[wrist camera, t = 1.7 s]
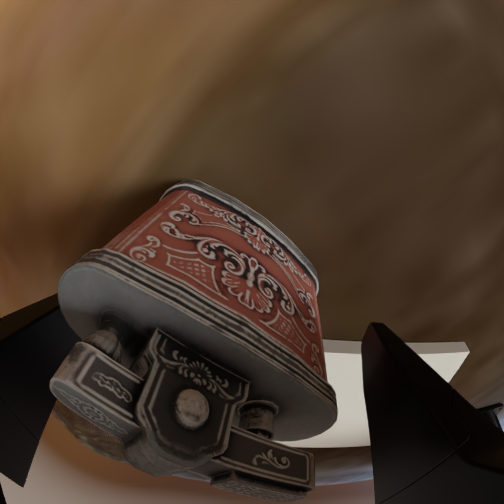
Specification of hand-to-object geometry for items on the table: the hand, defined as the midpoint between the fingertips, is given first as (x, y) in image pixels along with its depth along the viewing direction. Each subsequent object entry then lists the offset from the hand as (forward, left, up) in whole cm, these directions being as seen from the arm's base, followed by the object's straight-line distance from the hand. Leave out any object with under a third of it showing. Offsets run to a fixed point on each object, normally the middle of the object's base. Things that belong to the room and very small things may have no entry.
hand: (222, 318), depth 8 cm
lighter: (0, 0, -5) cm, 5 cm away
